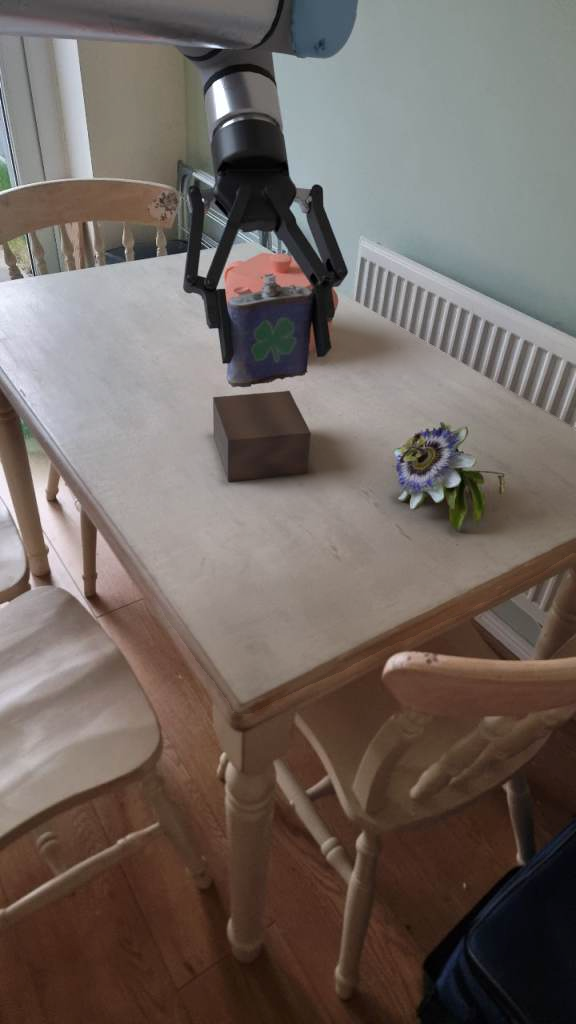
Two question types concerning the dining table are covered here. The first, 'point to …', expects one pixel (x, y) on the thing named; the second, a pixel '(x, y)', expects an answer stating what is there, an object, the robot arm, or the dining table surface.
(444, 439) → the passion flower
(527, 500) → the dining table surface
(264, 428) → the walnut block
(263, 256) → the teapot
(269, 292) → the flask
